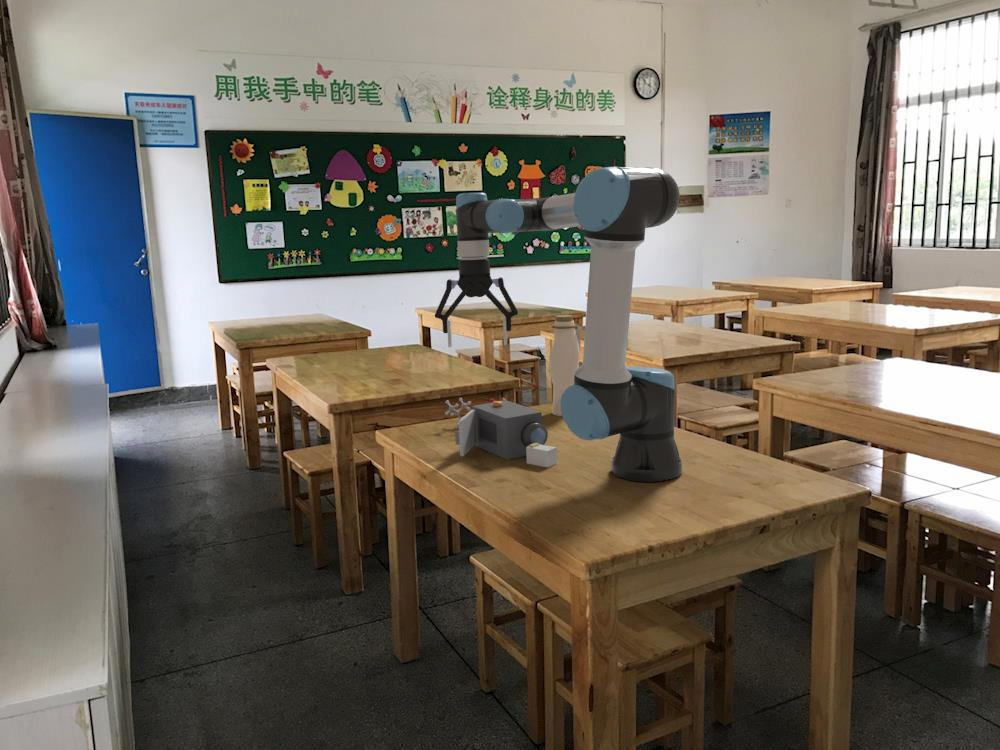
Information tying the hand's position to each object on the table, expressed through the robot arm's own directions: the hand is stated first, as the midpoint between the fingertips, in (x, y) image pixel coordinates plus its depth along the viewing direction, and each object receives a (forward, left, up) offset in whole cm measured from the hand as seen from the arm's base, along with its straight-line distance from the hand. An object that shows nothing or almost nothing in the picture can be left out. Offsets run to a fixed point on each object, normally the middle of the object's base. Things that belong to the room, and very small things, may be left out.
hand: (477, 345), depth 201 cm
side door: (-5, +7, -24) cm, 26 cm away
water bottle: (+13, -36, -25) cm, 46 cm away
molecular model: (+11, -4, -25) cm, 28 cm away
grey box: (-10, -3, -25) cm, 27 cm away
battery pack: (-23, -3, -25) cm, 34 cm away
